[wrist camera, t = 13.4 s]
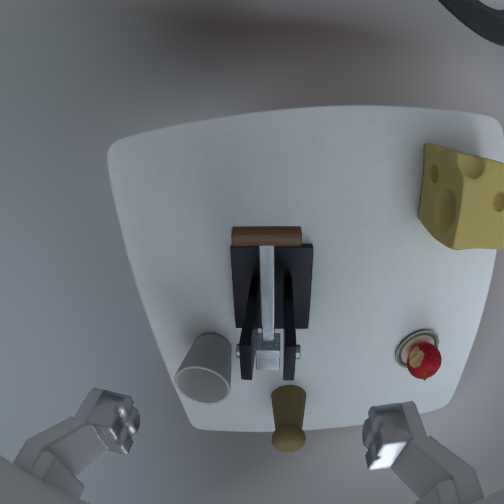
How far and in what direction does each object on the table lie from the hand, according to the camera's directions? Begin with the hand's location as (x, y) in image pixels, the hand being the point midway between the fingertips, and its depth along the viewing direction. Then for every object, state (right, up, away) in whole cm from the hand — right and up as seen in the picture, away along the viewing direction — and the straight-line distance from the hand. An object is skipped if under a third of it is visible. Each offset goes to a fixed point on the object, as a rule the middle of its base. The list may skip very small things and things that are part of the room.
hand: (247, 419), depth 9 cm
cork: (+7, -19, +39) cm, 44 cm away
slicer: (+3, +1, +31) cm, 31 cm away
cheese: (+26, +14, +24) cm, 38 cm away
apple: (+27, -10, +33) cm, 44 cm away
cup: (-6, -10, +36) cm, 38 cm away
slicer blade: (+2, +2, +17) cm, 17 cm away
